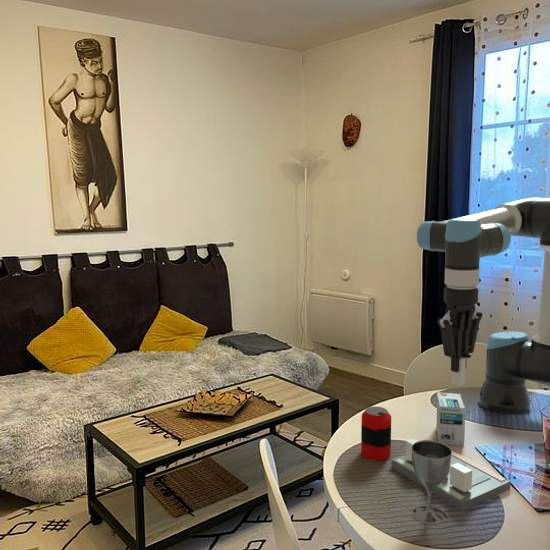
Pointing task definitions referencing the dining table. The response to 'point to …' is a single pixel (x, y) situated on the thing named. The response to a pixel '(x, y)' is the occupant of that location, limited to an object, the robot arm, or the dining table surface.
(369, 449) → the soda can
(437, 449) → the wine glass
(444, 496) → the board
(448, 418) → the light bulb box
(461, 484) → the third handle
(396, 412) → the dining table surface
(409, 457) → the handle
